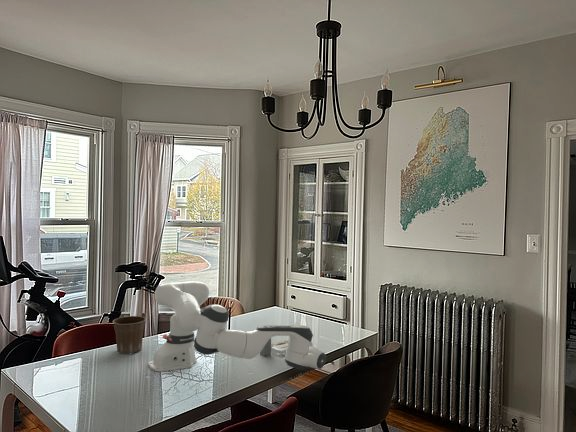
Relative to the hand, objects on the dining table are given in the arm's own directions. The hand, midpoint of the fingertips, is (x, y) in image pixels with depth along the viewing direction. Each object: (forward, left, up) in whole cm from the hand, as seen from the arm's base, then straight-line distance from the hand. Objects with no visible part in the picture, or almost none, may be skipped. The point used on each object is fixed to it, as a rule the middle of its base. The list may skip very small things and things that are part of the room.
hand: (280, 344), depth 221 cm
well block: (+12, +12, -9) cm, 19 cm away
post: (0, +12, -9) cm, 15 cm away
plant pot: (-53, +60, -9) cm, 81 cm away
